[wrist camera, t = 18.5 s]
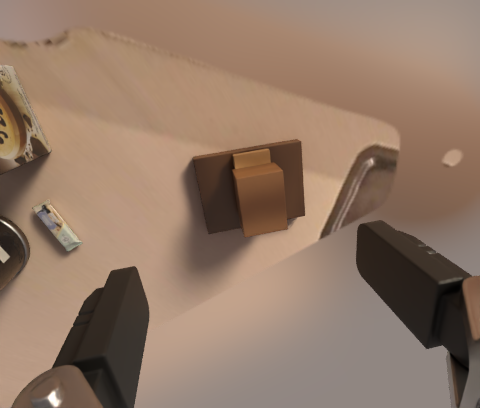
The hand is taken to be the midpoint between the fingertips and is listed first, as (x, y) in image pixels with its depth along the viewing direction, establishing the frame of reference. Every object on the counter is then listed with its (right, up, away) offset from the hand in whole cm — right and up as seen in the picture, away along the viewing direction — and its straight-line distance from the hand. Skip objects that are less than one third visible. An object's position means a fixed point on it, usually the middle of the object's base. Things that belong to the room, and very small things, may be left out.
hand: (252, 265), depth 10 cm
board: (+1, +5, +27) cm, 28 cm away
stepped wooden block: (+1, +4, +26) cm, 26 cm away
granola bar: (-23, 0, +25) cm, 34 cm away
